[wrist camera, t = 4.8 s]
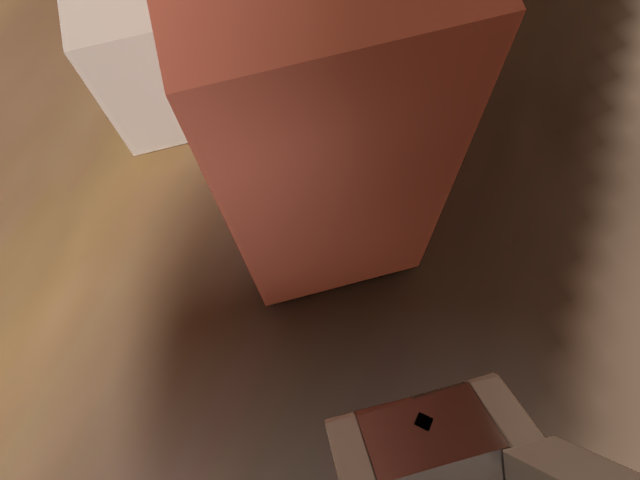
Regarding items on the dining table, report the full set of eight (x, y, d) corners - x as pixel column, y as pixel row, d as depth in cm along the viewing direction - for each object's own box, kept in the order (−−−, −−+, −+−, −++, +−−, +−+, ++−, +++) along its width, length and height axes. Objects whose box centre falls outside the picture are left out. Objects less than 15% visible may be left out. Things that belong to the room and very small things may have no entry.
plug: (418, 265, 16) (526, 10, 7) (265, 306, 16) (165, 95, 7) (335, 24, 19) (332, -375, 10) (206, 54, 19) (81, -327, 10)
